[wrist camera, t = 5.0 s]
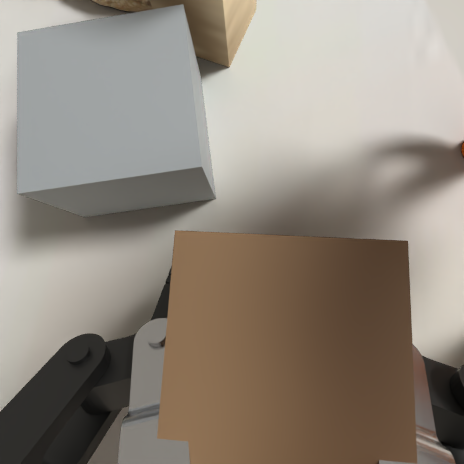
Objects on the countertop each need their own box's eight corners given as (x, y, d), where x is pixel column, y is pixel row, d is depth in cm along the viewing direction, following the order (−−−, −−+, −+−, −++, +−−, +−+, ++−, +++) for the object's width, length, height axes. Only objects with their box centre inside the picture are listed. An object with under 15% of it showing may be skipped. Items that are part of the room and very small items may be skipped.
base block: (86, 217, 16) (17, 193, 11) (81, 99, 18) (17, 32, 13) (216, 199, 16) (202, 166, 11) (201, 80, 17) (183, 3, 12)
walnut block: (217, 341, 15) (153, 481, 5) (222, 258, 15) (174, 230, 5) (301, 347, 14) (419, 511, 4) (303, 262, 15) (407, 240, 5)
